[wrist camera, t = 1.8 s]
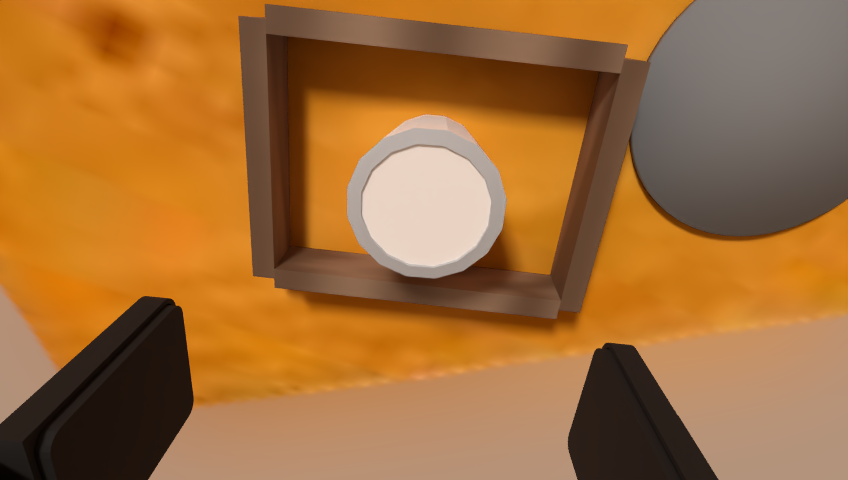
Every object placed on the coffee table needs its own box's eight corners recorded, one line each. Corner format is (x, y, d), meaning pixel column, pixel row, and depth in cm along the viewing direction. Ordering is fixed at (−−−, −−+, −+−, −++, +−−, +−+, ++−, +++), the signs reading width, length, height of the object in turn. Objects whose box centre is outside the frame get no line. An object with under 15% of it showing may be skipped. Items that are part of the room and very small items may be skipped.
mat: (984, -32, 21) (996, -34, 21) (840, 245, 27) (847, 249, 27) (678, -67, 21) (683, -69, 21) (599, 218, 27) (601, 221, 27)
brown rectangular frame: (630, 45, 23) (655, 47, 21) (565, 294, 29) (577, 321, 27) (262, 3, 23) (237, 0, 21) (271, 261, 29) (253, 285, 27)
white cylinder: (409, 241, 28) (398, 303, 22) (346, 141, 26) (313, 178, 20) (513, 188, 27) (534, 238, 20) (456, 77, 24) (459, 95, 18)
